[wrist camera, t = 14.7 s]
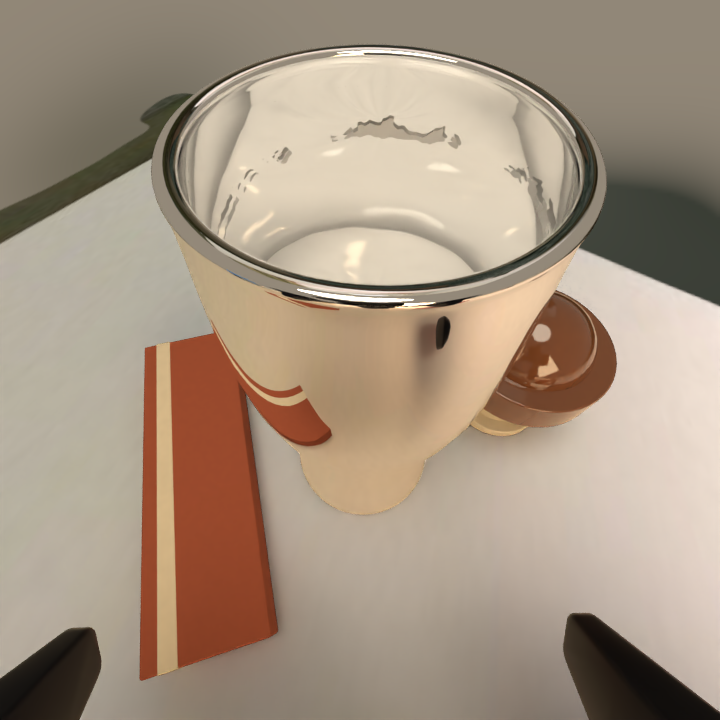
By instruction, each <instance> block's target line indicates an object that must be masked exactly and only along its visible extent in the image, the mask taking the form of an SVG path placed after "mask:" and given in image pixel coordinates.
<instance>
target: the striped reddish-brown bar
mask: <svg viewBox="0 0 720 720" xmlns="http://www.w3.org/2000/svg"><path fill="white" fill-rule="evenodd" d="M277 632H278V627H277V620H276V613H275V606H274V598H273V591H272V584H271V577H270V569H269V562H268V555H267V548H266V540H265V533H264V526H263V519H262V511H261V504H260V497H259V490H258V482H257V475H256V468H255V461H254V453H253V446H252V439H251V432H250V424H249V417H248V410H247V403H246V395H245V391H244V389H243V388H242V386H241V385H240V383H239V382H238V380H237V378H236V376H235V374H234V373H233V371H232V369H231V367H230V365H229V363H228V361H227V359H226V357H225V355H224V353H223V351H222V349H221V347H220V345H219V343H218V341H217V338H216V336H215V334H214V333H213V334H208V335H203V336H199V337H194V338H189V339H185V340H180V341H175V342H167V343H162V344H157V345H156V346H152V347H147V348H145V378H144V439H143V500H142V561H141V622H140V680H145V679H148V678H151V677H154V676H157V675H158V676H160V675H163V674H165V673H168V672H171V671H174V670H177V669H179V668H181V667H184V666H187V665H190V664H193V663H196V662H198V661H201V660H204V659H207V658H210V657H213V656H216V655H219V654H222V653H225V652H228V651H231V650H234V649H237V648H240V647H243V646H246V645H249V644H252V643H254V642H257V641H260V640H263V639H266V638H269V637H271V636H273V635H274V634H276V633H277Z"/></svg>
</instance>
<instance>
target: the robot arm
mask: <svg viewBox="0 0 720 720" xmlns="http://www.w3.org/2000/svg"><path fill="white" fill-rule="evenodd" d="M563 651H564V656H565V660H566V663H567V665H568V668H569V670H570V673H571V676H572V678H573V681H574V683H575V686H576V688H577V691H578V693H579V696H580V698H581V701H582V703H583V706H584V708H585V711H586V713H587V716H588V718H589V720H720V712H719V711H718V710H716V709H715V708H714V707H713V706H711V705H710V704H709V703H707V702H706V701H705V700H703V699H702V698H701V697H700V696H698V695H697V694H696V693H694V692H693V691H692V690H691V689H689V688H688V687H687V686H685V685H684V684H683V683H682V682H680V681H679V680H678V679H676V678H675V677H674V676H672V675H671V674H670V673H669V672H667V671H666V670H665V669H663V668H662V667H661V666H660V665H658V664H657V663H656V662H654V661H653V660H652V659H650V658H649V657H648V656H647V655H645V654H644V653H643V652H641V651H640V650H639V649H638V648H636V647H635V646H634V645H632V644H631V643H630V642H629V641H627V640H626V639H625V638H623V637H622V636H621V635H619V634H618V633H617V632H616V631H614V630H613V629H612V628H610V627H609V626H608V625H607V624H605V623H604V622H603V621H601V620H600V619H599V618H597V617H596V616H595V615H593V614H590V613H572V614H570V615H569V616H568V618H567V624H566V631H565V637H564V644H563ZM100 669H101V656H100V651H99V647H98V642H97V637H96V633H95V631H94V630H93V629H92V628H90V627H84V628H71V629H68V630H66V631H64V632H63V633H61V634H60V635H59V636H57V637H56V638H55V639H53V640H52V641H51V642H49V643H48V644H46V645H45V646H44V647H42V648H41V649H40V650H38V651H37V652H36V653H34V654H33V655H32V656H30V657H29V658H28V659H26V660H25V661H23V662H22V663H21V664H19V665H18V666H17V667H15V668H14V669H13V670H11V671H10V672H9V673H7V674H6V675H4V676H3V677H2V678H0V720H79V719H80V717H81V715H82V712H83V710H84V708H85V706H86V703H87V701H88V699H89V697H90V694H91V692H92V690H93V688H94V685H95V683H96V681H97V679H98V676H99V673H100Z"/></svg>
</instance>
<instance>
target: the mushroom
mask: <svg viewBox="0 0 720 720" xmlns="http://www.w3.org/2000/svg"><path fill="white" fill-rule="evenodd" d="M616 366H617V361H616V353H615V349H614V345H613V343H612V340H611V338H610V336H609V334H608V332H607V331H606V329H605V328H604V326H603V325H602V323H601V322H600V321H599V320H598V319H597V318H596V316H595V315H594V314H593V313H592V312H590V311H589V310H588V309H587V308H586V307H585V306H583V305H582V304H581V303H579V302H578V301H576V300H574V299H573V298H571V297H570V296H568V295H566V294H564V293H562V292H559V291H557V290H556V291H555V293H554V294H553V296H552V298H551V300H550V302H549V304H548V306H547V308H546V310H545V312H544V314H543V316H542V318H541V319H540V321H539V323H538V325H537V327H536V328H535V330H534V332H533V334H532V336H531V338H530V339H529V341H528V343H527V345H526V347H525V348H524V350H523V352H522V354H521V355H520V357H519V359H518V360H517V362H516V363H515V365H514V366H513V368H512V369H511V371H510V373H509V374H508V376H507V377H506V379H505V380H504V382H503V384H502V385H501V387H500V388H499V390H498V391H497V392H496V394H495V395H494V396H493V398H492V399H491V400H490V401H489V403H488V404H487V405H486V406H485V407H484V409H483V410H482V411H481V412H480V414H479V415H478V416H477V417H476V418H475V420H474V421H473V422H472V423H471V424H470V425H471V426H473V427H474V428H476V429H478V430H480V431H482V432H484V433H487V434H490V435H496V436H510V435H514V434H517V433H519V432H521V431H523V430H524V429H526V428H527V427H551V426H556V425H560V424H563V423H566V422H568V421H571V420H572V419H574V418H576V417H577V416H579V415H580V414H581V413H583V412H584V411H585V410H587V409H588V408H589V407H591V406H592V405H593V404H594V403H596V402H597V401H598V400H599V399H601V398H602V397H603V396H604V395H605V394H606V392H607V391H608V390H609V388H610V387H611V385H612V383H613V381H614V377H615V373H616Z"/></svg>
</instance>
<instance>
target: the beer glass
mask: <svg viewBox="0 0 720 720" xmlns="http://www.w3.org/2000/svg"><path fill="white" fill-rule="evenodd" d="M151 176H152V184H153V189H154V193H155V197H156V200H157V203H158V205H159V207H160V209H161V211H162V213H163V215H164V217H165V218H166V220H167V222H168V223H169V225H170V226H171V228H172V230H173V232H174V235H175V237H176V239H177V242H178V244H179V247H180V249H181V252H182V254H183V256H184V259H185V261H186V264H187V267H188V269H189V272H190V275H191V277H192V280H193V282H194V285H195V288H196V290H197V293H198V295H199V298H200V300H201V303H202V305H203V307H204V310H205V312H206V315H207V317H208V319H209V322H210V324H211V327H212V329H213V331H214V334H215V336H216V338H217V341H218V343H219V345H220V347H221V349H222V351H223V353H224V355H225V357H226V359H227V361H228V363H229V365H230V367H231V369H232V371H233V373H234V374H235V376H236V378H237V380H238V382H239V383H240V385H241V386H242V388H243V389H244V391H245V393H246V394H247V396H248V397H249V399H250V400H251V402H252V403H253V405H254V406H255V408H256V409H257V411H258V412H259V414H260V415H261V416H262V418H263V419H264V420H265V421H266V422H267V423H268V424H269V425H270V427H271V428H272V429H273V430H274V431H275V432H276V433H277V434H279V435H280V436H281V437H282V438H283V439H284V440H285V441H286V442H287V443H288V444H289V445H290V446H291V447H292V448H293V449H295V450H296V451H297V452H299V453H300V462H301V466H302V470H303V473H304V475H305V478H306V480H307V482H308V483H309V485H310V487H311V488H312V489H313V491H314V492H315V493H316V494H317V495H318V496H319V497H320V498H321V499H322V500H323V501H324V502H326V503H327V504H328V505H330V506H332V507H334V508H336V509H338V510H340V511H343V512H346V513H350V514H357V515H369V514H376V513H380V512H383V511H386V510H388V509H391V508H393V507H394V506H396V505H398V504H399V503H401V502H402V501H403V500H404V499H405V498H406V497H408V495H409V494H410V493H411V492H412V491H413V490H414V488H415V487H416V485H417V483H418V482H419V479H420V477H421V475H422V472H423V469H424V465H425V460H427V459H428V458H430V457H432V456H433V455H435V454H436V453H437V452H439V451H440V450H441V449H443V448H444V447H445V446H446V445H448V444H449V443H450V442H451V441H453V440H454V439H455V438H456V437H458V436H459V435H460V434H461V433H462V432H463V431H464V430H466V429H467V427H468V426H469V425H470V424H471V423H472V422H473V421H474V420H475V418H476V417H477V416H478V415H479V414H480V412H481V411H482V410H483V409H484V407H485V406H486V405H487V404H488V403H489V401H490V400H491V399H492V398H493V396H494V395H495V394H496V392H497V391H498V390H499V388H500V387H501V385H502V384H503V382H504V380H505V379H506V377H507V376H508V374H509V373H510V371H511V369H512V368H513V366H514V365H515V363H516V362H517V360H518V359H519V357H520V355H521V354H522V352H523V350H524V348H525V347H526V345H527V343H528V341H529V339H530V338H531V336H532V334H533V332H534V330H535V328H536V327H537V325H538V323H539V321H540V319H541V318H542V316H543V314H544V312H545V310H546V308H547V306H548V304H549V302H550V300H551V298H552V296H553V294H554V293H555V291H556V289H557V287H558V285H559V283H560V281H561V279H562V277H563V275H564V273H565V271H566V269H567V268H568V266H569V264H570V262H571V260H572V258H573V257H574V255H575V253H576V251H577V249H578V248H579V246H580V244H581V243H582V242H583V241H584V240H585V238H586V237H587V236H588V235H589V233H590V232H591V230H592V229H593V227H594V225H595V224H596V222H597V220H598V217H599V215H600V213H601V210H602V207H603V204H604V201H605V196H606V189H607V177H606V168H605V163H604V159H603V155H602V153H601V150H600V148H599V146H598V144H597V142H596V140H595V138H594V136H593V135H592V133H591V132H590V130H589V129H588V127H587V126H586V125H585V124H584V122H583V121H582V120H581V119H580V118H579V117H578V116H577V115H576V114H575V113H574V112H573V111H572V110H571V109H570V108H569V107H568V106H566V105H565V104H564V103H563V102H562V101H560V100H559V99H558V98H556V97H555V96H554V95H552V94H551V93H549V92H548V91H546V90H545V89H543V88H542V87H540V86H538V85H537V84H535V83H533V82H531V81H529V80H527V79H526V78H524V77H522V76H520V75H517V74H515V73H513V72H511V71H508V70H506V69H503V68H501V67H498V66H496V65H493V64H490V63H487V62H484V61H481V60H477V59H474V58H471V57H467V56H463V55H459V54H455V53H450V52H445V51H440V50H434V49H428V48H420V47H412V46H403V45H387V44H353V45H338V46H326V47H318V48H311V49H306V50H300V51H295V52H290V53H286V54H282V55H278V56H274V57H270V58H267V59H264V60H261V61H258V62H255V63H252V64H249V65H247V66H244V67H242V68H239V69H237V70H235V71H232V72H231V73H228V74H226V75H224V76H222V77H220V78H219V79H217V80H215V81H213V82H212V83H210V84H208V85H207V86H205V87H204V88H202V89H201V90H200V91H198V92H197V93H195V94H194V95H193V96H192V97H190V98H189V99H188V100H187V101H186V102H185V103H184V104H183V105H181V106H180V108H179V109H178V110H177V111H176V112H175V113H174V114H173V115H172V116H171V118H170V119H169V120H168V122H167V123H166V125H165V126H164V128H163V130H162V132H161V134H160V136H159V138H158V140H157V143H156V146H155V149H154V153H153V158H152V166H151Z"/></svg>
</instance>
